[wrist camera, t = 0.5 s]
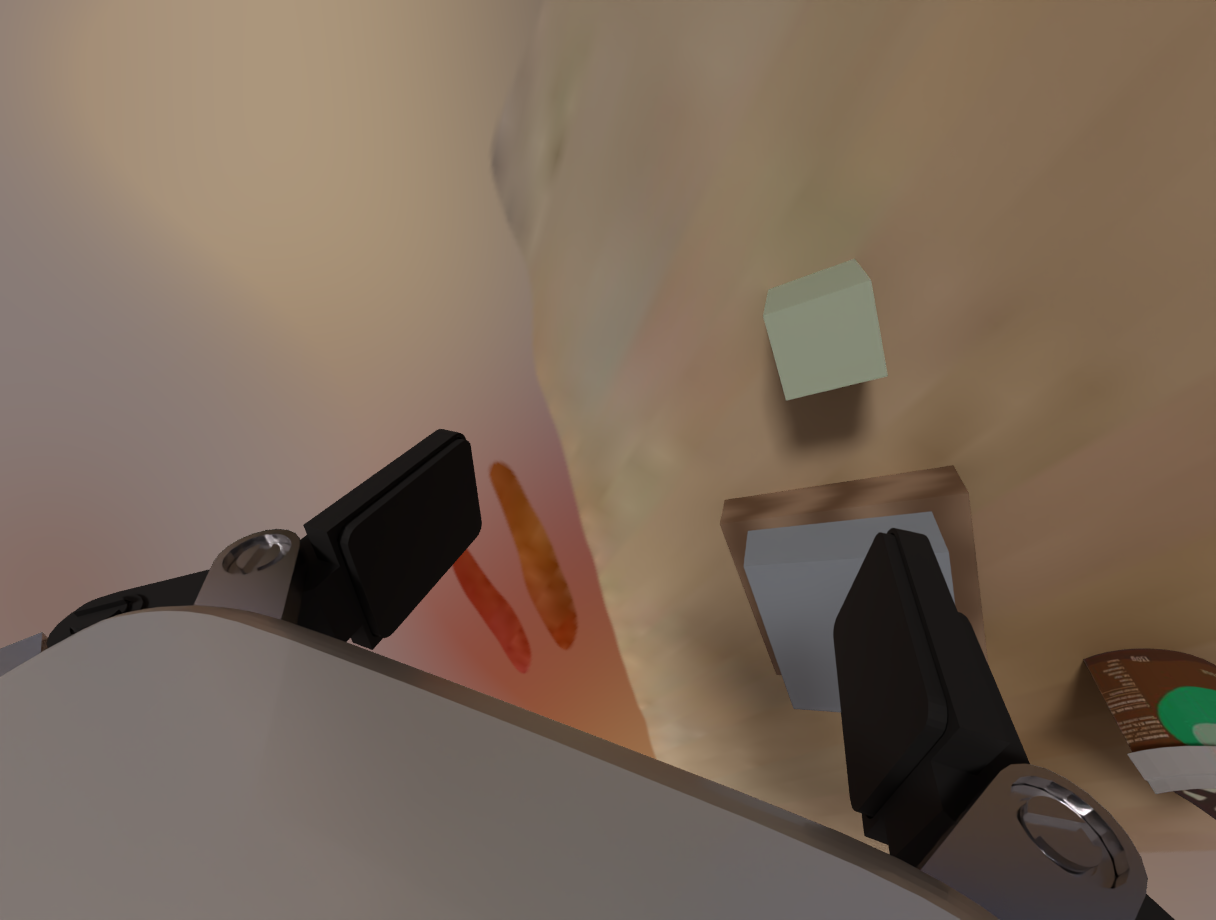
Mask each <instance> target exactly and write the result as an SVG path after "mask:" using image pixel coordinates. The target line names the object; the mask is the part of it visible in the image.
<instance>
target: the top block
mask: <svg viewBox="0 0 1216 920" xmlns="http://www.w3.org/2000/svg"><path fill="white" fill-rule="evenodd" d="M891 528H897V529H902V530H907V531H911V532H916V533H920V534H924V535H926V536H927V537H928V539H929V541H930V544H931V546H932V549H933V551H934V554H935V556H936V558H937V561H938V563H939V566H940V568H941V571H942V573H943V576H944V578H945V581H946V583H947V586H948V588H949V591H950V593H951V596H952V598H953V601H954V603H955V599H954V591H953V583H952V575H951V566H950V558H949V551H948V549H947V547H946V544H945V542H944V539H943V537H942V535H941V532H940V530H939V528H938V525H937V523H936V520H935V518H934V516H933V513H932V511H931V512H921V513H912V514H903V515H893V516H884V517H874V518H865V519H856V520H846V521H837V522H827V523H818V524H808V525H799V526H790V527H780V528H771V529H761V530H752V531H748V534H747V542H746V550H745V558H744V569H745V572H746V575H747V578H748V580H749V583H750V586H751V589H752V592H753V595H754V597H755V600H756V603H757V606H758V609H759V612H760V614H761V617H762V620H763V623H764V626H765V629H766V631H767V634H768V637H769V640H770V643H771V646H772V648H773V651H774V654H775V657H776V660H777V663H778V666H779V668H780V671H781V674H782V677H783V680H784V683H785V685H786V688H787V691H788V694H789V697H790V700H791V702H792V705H793V708H794V709H803V710H817V711H830V712H841V707H840V697H839V688H838V678H837V669H836V659H835V649H834V640H833V629H834V623H835V620H836V617H837V615H838V613H839V611H840V609H841V607H842V605H843V603H844V601H845V599H846V597H847V595H848V592H849V590H850V588H851V586H852V584H853V582H854V580H855V578H856V576H857V574H858V572H859V569H860V567H861V565H862V563H863V561H864V559H865V557H866V555H867V553H868V551H869V549H870V546H871V544H872V542H873V540H874V538H875V536H876V535H877V534H878V533H879V532H882V533H886V534H887V532H888V531H889V530H890V529H891Z"/></svg>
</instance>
